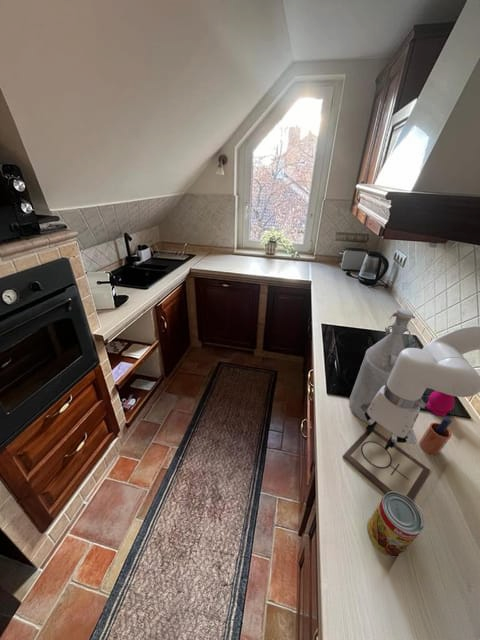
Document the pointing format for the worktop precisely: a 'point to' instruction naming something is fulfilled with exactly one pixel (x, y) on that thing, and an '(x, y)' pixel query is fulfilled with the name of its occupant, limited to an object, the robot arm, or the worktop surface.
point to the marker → (443, 426)
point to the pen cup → (434, 440)
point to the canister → (379, 363)
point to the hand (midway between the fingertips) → (378, 438)
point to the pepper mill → (440, 403)
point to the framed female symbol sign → (386, 465)
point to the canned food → (395, 523)
